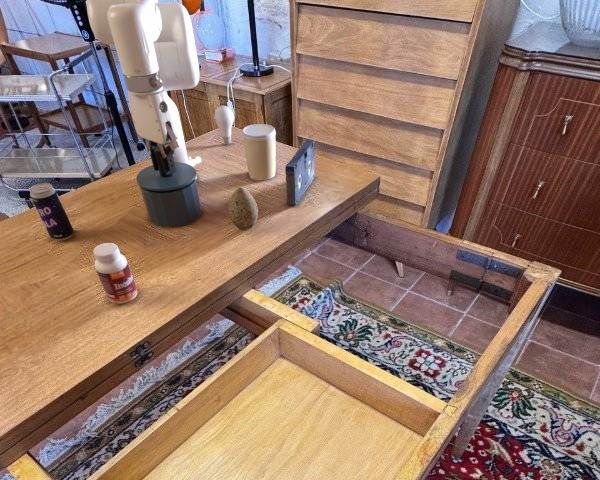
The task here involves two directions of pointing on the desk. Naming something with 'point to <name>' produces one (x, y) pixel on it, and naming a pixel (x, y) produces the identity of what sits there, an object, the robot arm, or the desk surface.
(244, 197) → the decorative egg
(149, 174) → the tin lid
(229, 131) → the lightbulb
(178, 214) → the tin
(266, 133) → the coffee cup
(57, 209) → the beverage can
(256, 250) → the desk surface
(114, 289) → the pill bottle
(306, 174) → the vhs cassette tape
